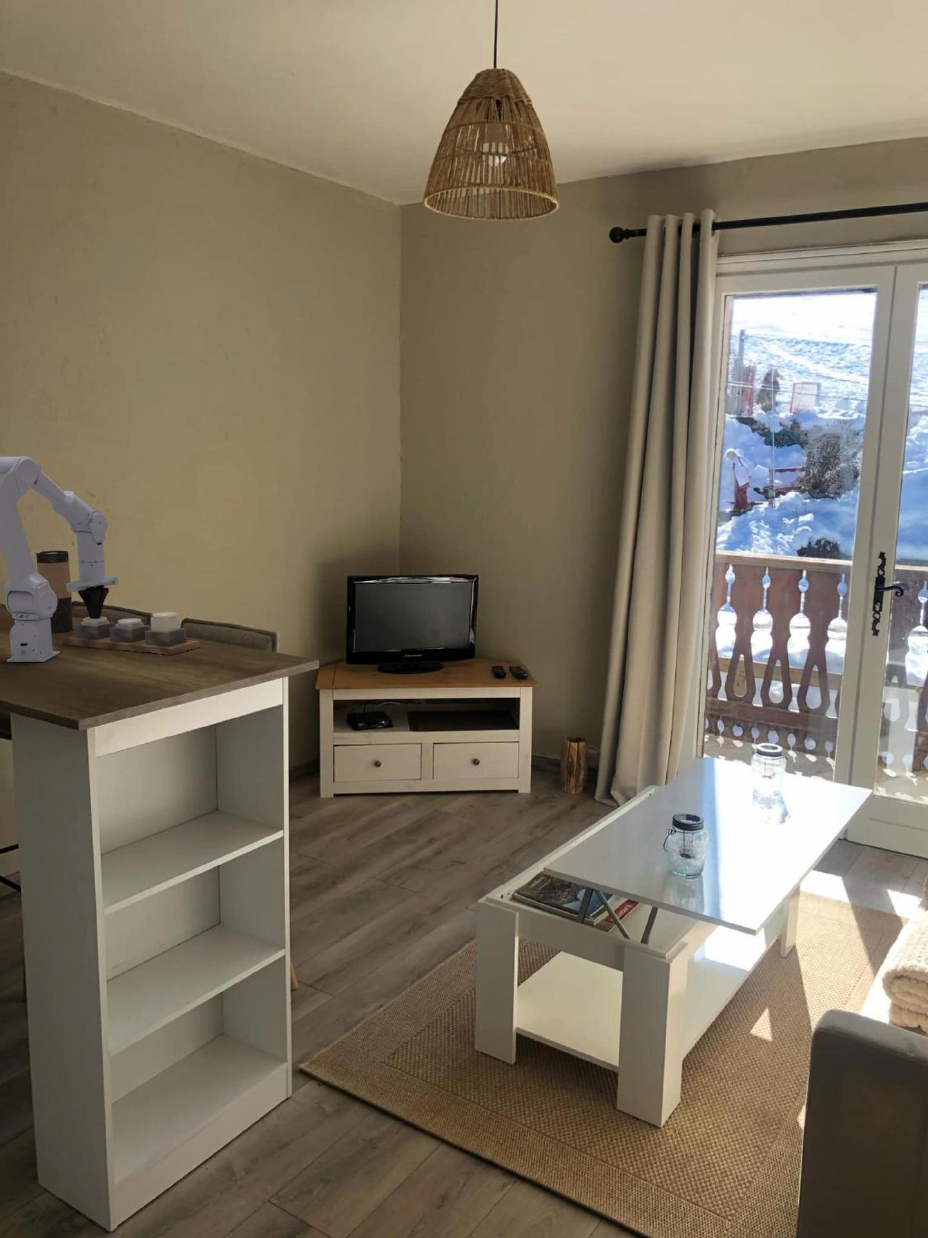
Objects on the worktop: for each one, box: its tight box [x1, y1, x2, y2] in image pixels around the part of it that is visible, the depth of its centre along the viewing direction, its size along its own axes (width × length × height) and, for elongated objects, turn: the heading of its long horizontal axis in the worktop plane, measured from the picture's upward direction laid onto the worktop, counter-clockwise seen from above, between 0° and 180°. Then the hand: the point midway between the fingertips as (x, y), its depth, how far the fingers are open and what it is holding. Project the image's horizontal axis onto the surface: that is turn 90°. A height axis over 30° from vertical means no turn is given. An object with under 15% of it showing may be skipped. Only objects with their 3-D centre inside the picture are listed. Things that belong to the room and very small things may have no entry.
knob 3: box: [150, 611, 181, 633], centre depth 232 cm, size 5×5×4 cm
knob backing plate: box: [62, 621, 201, 656], centre depth 236 cm, size 32×10×4 cm, turn 66°
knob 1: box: [80, 616, 110, 626], centre depth 240 cm, size 5×5×4 cm
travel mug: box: [35, 550, 73, 634], centre depth 256 cm, size 8×8×20 cm
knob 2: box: [116, 617, 145, 629], centre depth 236 cm, size 5×5×4 cm
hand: (95, 618), depth 240 cm, fingers closed, pressing on knob 1
